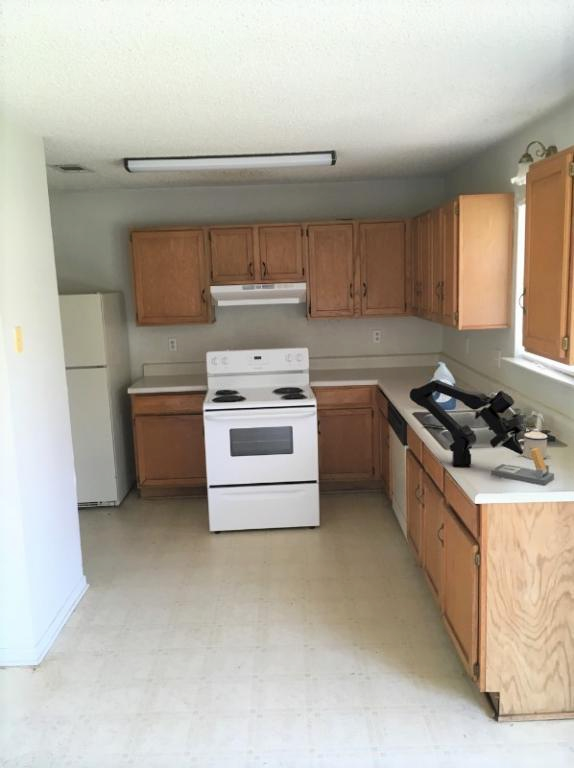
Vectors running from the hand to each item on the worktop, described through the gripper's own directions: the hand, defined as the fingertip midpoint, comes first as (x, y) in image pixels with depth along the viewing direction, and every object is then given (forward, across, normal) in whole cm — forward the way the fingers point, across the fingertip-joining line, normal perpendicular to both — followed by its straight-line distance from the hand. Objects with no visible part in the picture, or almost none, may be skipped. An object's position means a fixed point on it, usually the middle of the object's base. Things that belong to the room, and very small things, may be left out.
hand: (522, 453), depth 232 cm
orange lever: (+10, 0, -1) cm, 10 cm away
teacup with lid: (+2, +28, +11) cm, 30 cm away
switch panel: (+6, 0, +6) cm, 9 cm away
